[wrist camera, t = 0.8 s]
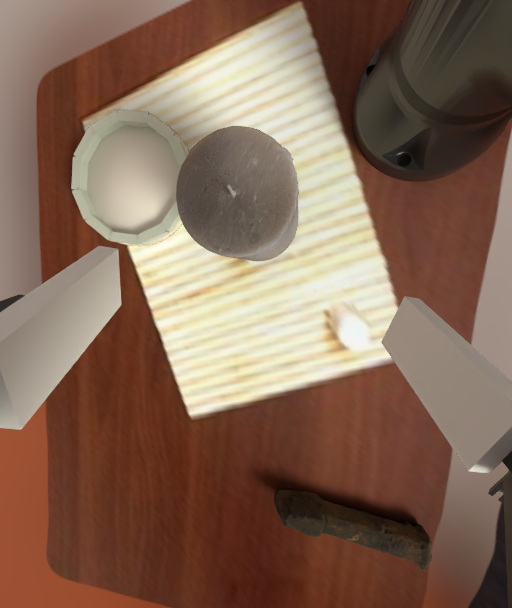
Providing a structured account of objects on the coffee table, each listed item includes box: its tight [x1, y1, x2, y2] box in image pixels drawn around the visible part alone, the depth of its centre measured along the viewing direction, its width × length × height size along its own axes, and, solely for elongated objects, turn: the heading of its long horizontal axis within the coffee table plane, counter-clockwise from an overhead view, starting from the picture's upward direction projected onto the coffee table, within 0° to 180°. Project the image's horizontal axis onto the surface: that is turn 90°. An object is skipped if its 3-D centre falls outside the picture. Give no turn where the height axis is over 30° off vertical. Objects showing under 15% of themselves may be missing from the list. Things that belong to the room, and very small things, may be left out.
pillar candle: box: [176, 126, 299, 261], centre depth 27 cm, size 10×10×15 cm
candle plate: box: [71, 110, 189, 246], centre depth 35 cm, size 16×16×2 cm
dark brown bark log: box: [274, 490, 432, 570], centre depth 35 cm, size 19×4×5 cm, turn 76°
